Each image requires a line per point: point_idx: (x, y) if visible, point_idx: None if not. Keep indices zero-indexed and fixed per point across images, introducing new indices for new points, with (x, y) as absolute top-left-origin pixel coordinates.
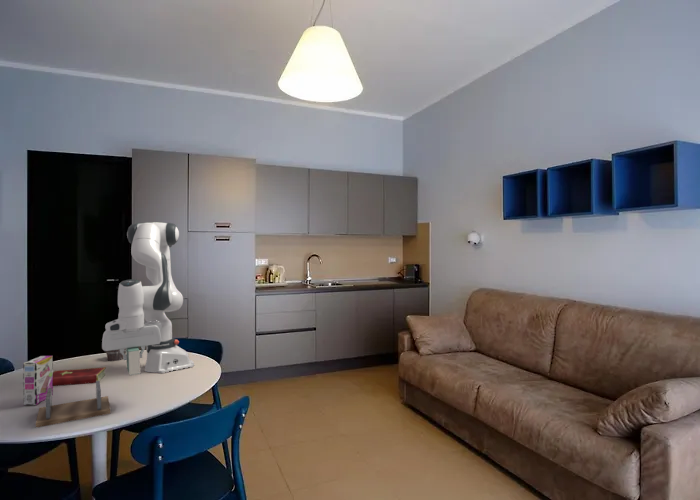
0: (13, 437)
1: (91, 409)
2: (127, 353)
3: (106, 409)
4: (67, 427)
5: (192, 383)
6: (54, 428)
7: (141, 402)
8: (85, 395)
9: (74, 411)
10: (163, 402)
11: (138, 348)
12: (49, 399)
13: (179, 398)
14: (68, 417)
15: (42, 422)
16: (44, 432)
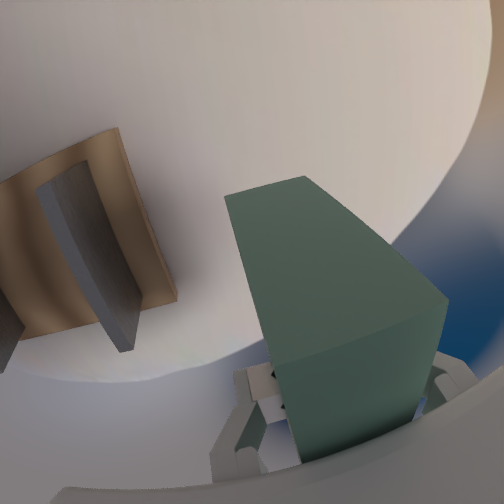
0: (12, 367)
1: None
2: (284, 406)
3: (162, 299)
4: (93, 356)
5: (445, 51)
6: (63, 352)
7: None
8: (16, 54)
9: (55, 288)
10: None
11: None
12: (3, 371)
13: (402, 204)
14: (66, 329)
15: (21, 338)
16: (56, 366)
